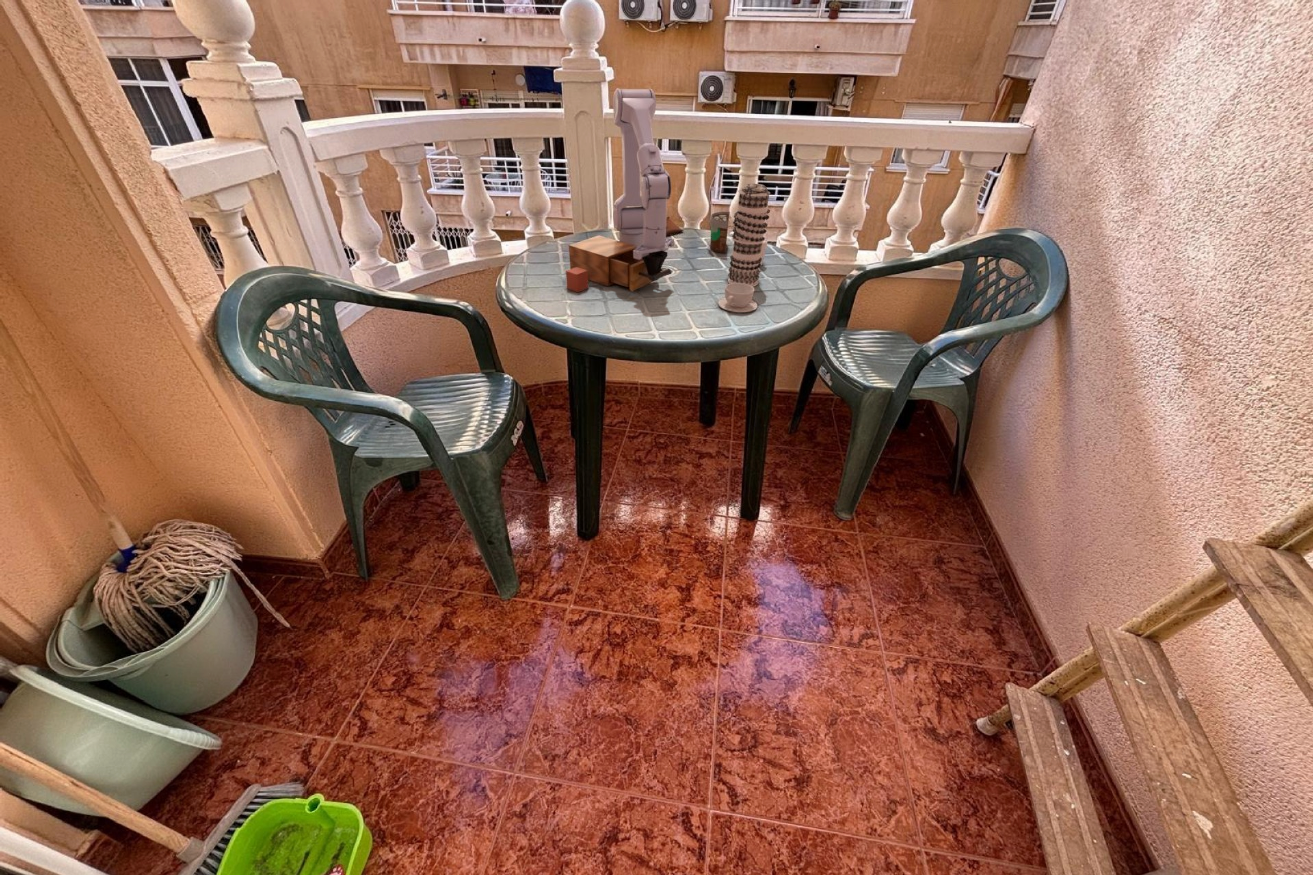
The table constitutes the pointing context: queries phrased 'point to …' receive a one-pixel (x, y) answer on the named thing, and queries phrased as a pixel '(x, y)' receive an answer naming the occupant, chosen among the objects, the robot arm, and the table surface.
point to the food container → (719, 231)
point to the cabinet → (596, 256)
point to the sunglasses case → (671, 227)
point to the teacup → (738, 298)
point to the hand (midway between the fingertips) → (653, 279)
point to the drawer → (631, 271)
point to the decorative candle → (749, 234)
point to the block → (577, 279)
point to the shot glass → (763, 250)
